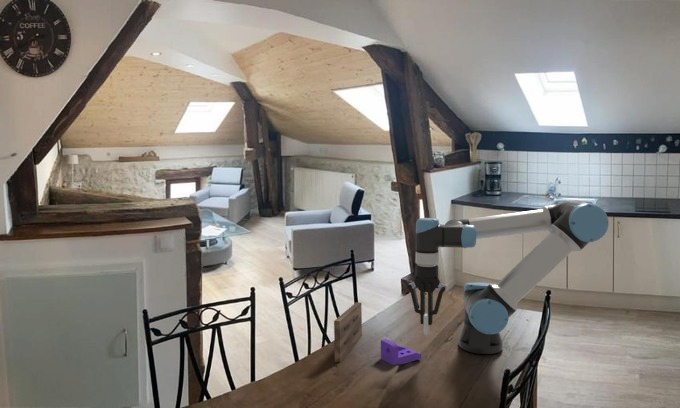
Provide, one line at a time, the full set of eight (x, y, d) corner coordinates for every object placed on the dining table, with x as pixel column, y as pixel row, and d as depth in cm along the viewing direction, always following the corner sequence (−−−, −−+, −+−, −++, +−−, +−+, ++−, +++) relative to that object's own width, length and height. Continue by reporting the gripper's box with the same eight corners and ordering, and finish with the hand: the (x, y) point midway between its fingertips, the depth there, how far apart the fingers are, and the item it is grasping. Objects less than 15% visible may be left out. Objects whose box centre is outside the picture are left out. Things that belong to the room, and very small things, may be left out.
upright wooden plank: (362, 339, 188) (361, 302, 187) (340, 362, 166) (340, 321, 165) (356, 338, 189) (356, 302, 188) (334, 361, 166) (334, 320, 165)
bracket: (393, 366, 163) (393, 345, 162) (380, 359, 168) (380, 340, 168) (421, 358, 169) (421, 338, 169) (408, 352, 175) (408, 333, 174)
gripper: (448, 263, 167) (447, 332, 169) (409, 261, 171) (409, 328, 173) (445, 267, 160) (444, 339, 162) (405, 265, 164) (404, 335, 166)
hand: (426, 333), depth 167 cm, fingers closed
